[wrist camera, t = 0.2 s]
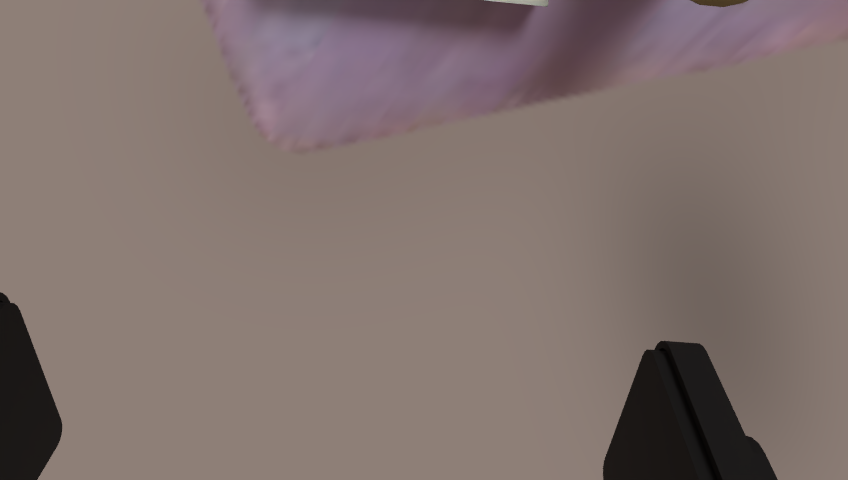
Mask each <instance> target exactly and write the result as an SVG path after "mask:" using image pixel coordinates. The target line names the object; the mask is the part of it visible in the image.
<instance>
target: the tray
mask: <svg viewBox="0 0 848 480" xmlns="http://www.w3.org/2000/svg"><path fill="white" fill-rule="evenodd" d="M486 1H496V2H506V3H516V4H526V5H536V6H546V7H547V6H548V1H549V0H486Z"/></svg>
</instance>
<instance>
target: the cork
mask: <svg viewBox="0 0 848 480" xmlns="http://www.w3.org/2000/svg"><path fill="white" fill-rule="evenodd" d="M691 1H693V2H695V3H697V4H699V5H708V6H718V7H726V6H730V5H735V4H740V3H744V2H746V1H748V0H691Z"/></svg>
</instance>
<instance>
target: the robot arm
mask: <svg viewBox="0 0 848 480" xmlns="http://www.w3.org/2000/svg"><path fill="white" fill-rule="evenodd" d="M61 433H62V422H61V418H60V416H59V413H58V410H57V408H56V405H55V402H54V400H53V397H52V394H51V392H50V389H49V387H48V384H47V381H46V378H45V376H44V373H43V371H42V368H41V365H40V363H39V360H38V357H37V355H36V352H35V349H34V347H33V344H32V342H31V339H30V336H29V333H28V331H27V328H26V325H25V323H24V320H23V317H22V315H21V312H20V310H19V308H18V306H17V305H15V304H14V303H10V301H9V300H8V298H7V296H6V295H4V294H3V293H0V480H37V479H38V477H39V476H40V474H41V472H42V471H43V469H44V467H45V465H46V464H47V462H48V461H49V459H50V457H51V455H52V454H53V452H54V451H55V449H56V447H57V445H58V443H59V441H60V437H61ZM603 478H604V480H777V477H776V475H775V473H774V471H773V469H772V467H771V465H770V463H769V461H768V459H767V457H766V455H765V453H764V451H763V450H762V448H761V446H760V445H759V443H758V442H756V441H755V440H754V439H753V438H752V437H748V436H745V434H744V431H743V429H742V427H741V425H740V423H739V421H738V418H737V416H736V414H735V412H734V410H733V408H732V406H731V403H730V401H729V399H728V397H727V395H726V393H725V390H724V388H723V386H722V384H721V382H720V380H719V377H718V375H717V373H716V371H715V369H714V367H713V365H712V362H711V360H710V358H709V356H708V354H707V351H706V350H705V348H704V347H703V346H702V345H700V344H697V343H684V342H670V341H660V342H659V343H658V344H657V346H656V348H655V350H646V351H645V352H644V354H643V356H642V359H641V362H640V364H639V367H638V370H637V373H636V375H635V378H634V381H633V383H632V386H631V389H630V392H629V394H628V397H627V400H626V402H625V405H624V408H623V411H622V414H621V416H620V419H619V422H618V424H617V427H616V430H615V433H614V435H613V438H612V441H611V444H610V446H609V449H608V452H607V454H606V457H605V460H604V466H603Z"/></svg>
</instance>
